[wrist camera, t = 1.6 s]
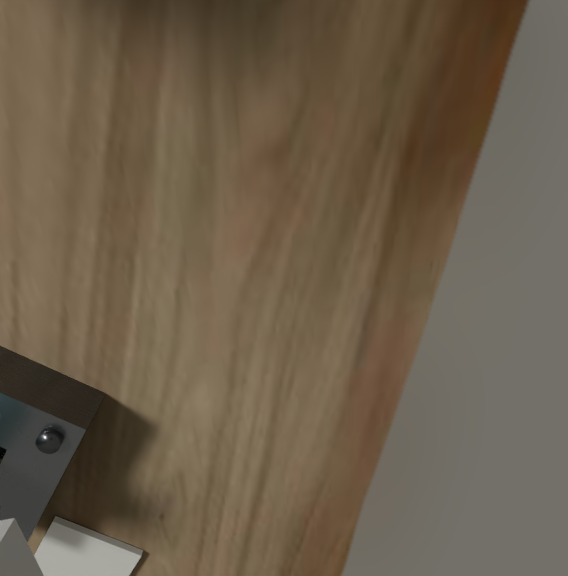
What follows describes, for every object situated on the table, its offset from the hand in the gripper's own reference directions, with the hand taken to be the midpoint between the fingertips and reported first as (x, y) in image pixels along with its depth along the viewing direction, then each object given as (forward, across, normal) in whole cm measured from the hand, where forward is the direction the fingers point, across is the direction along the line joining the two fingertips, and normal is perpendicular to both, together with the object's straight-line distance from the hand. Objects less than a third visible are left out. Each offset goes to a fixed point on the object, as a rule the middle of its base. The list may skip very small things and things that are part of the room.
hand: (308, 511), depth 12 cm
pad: (+25, -23, -26) cm, 43 cm away
